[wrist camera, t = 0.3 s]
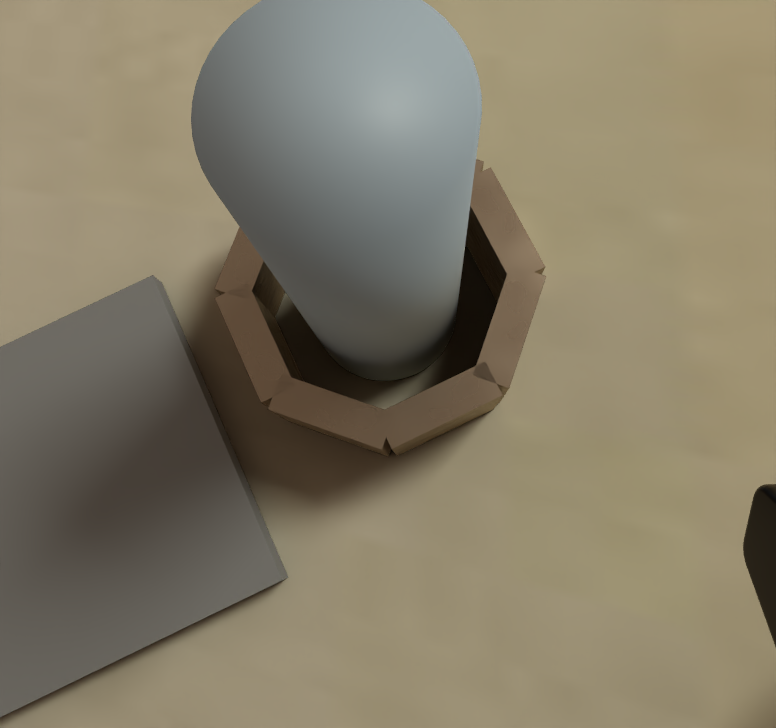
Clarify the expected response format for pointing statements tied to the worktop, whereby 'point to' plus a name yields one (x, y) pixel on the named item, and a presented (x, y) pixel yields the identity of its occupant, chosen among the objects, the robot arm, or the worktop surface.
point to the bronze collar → (428, 408)
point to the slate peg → (349, 167)
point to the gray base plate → (114, 495)
